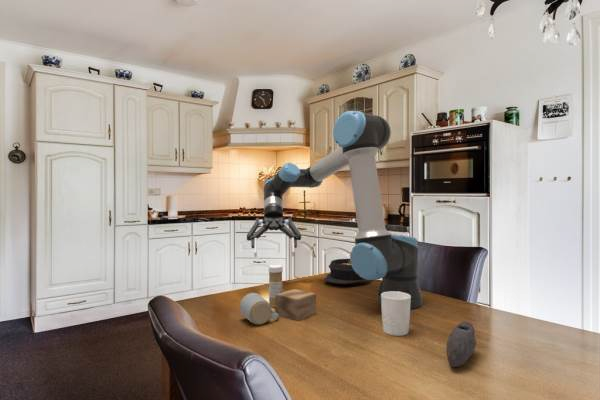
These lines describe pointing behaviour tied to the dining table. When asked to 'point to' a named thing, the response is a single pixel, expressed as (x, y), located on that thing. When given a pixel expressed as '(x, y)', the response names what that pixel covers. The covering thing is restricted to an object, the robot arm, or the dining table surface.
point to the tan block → (295, 304)
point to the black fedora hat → (343, 273)
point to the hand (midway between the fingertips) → (274, 254)
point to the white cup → (395, 312)
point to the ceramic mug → (257, 309)
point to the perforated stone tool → (460, 344)
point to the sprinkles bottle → (274, 282)
